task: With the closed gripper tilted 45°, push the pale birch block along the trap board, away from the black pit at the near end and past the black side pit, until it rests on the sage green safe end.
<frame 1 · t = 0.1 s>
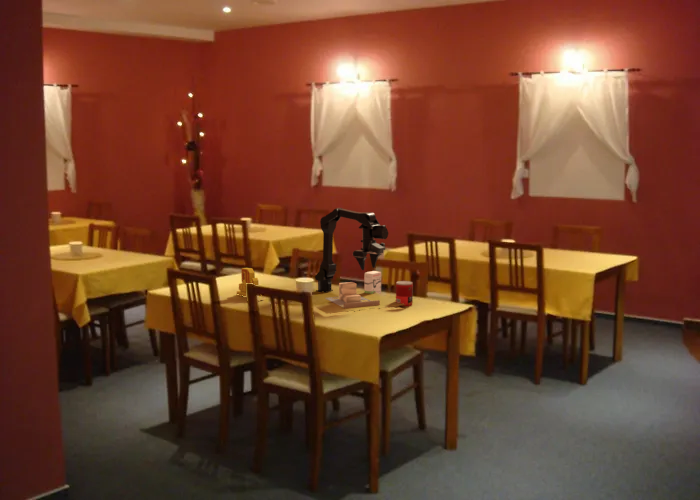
hand: (368, 268, 377), 15 cm above the table, tool pointing down, fingers open, 9 cm apart
canned food: (404, 305, 362), on the table
safe end: (358, 307, 356), on the table
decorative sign: (250, 298, 380), on the table
birch block: (349, 300, 365), point 1 cm above the table, touching trap board
trap board: (351, 304, 364), on the table
ink box: (372, 295, 386), on the table
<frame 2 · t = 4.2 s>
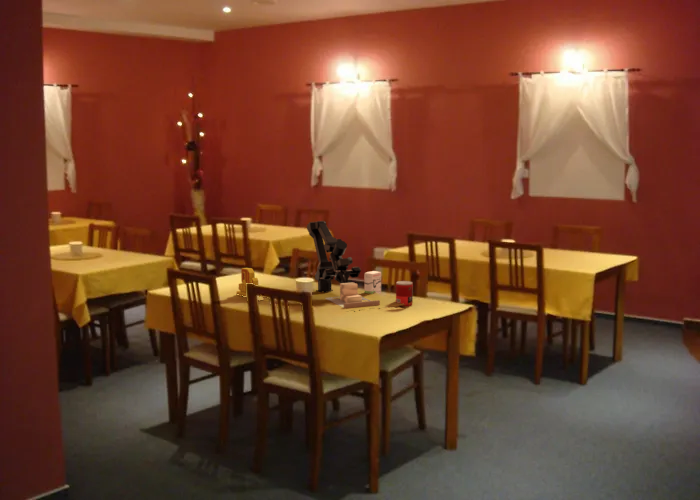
hand: (346, 287, 368), 7 cm above the table, tool tilted 45°, fingers closed, pressing on birch block
birch block: (350, 300, 364), point 2 cm above the table, touching gripper
everything else where it was.
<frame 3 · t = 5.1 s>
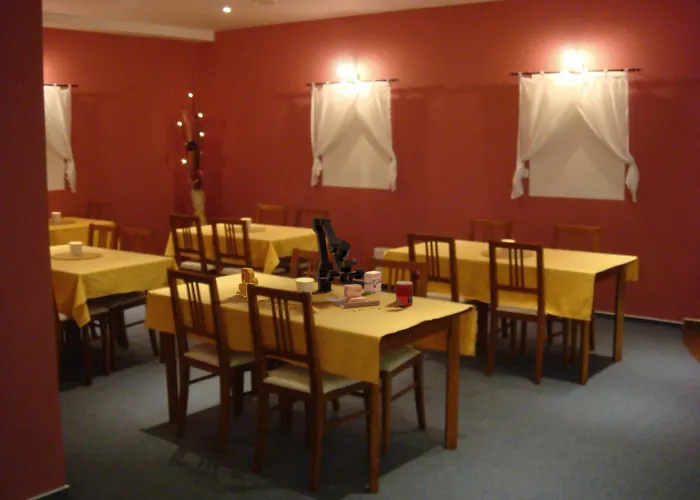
hand: (350, 288, 364), 7 cm above the table, tool tilted 45°, fingers closed, pressing on birch block
birch block: (354, 302, 360), point 1 cm above the table, touching gripper, safe end, trap board
everything else where it was.
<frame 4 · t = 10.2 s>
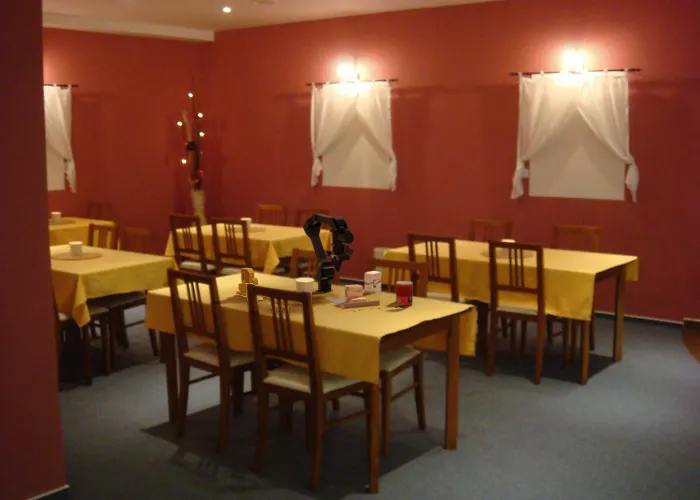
hand: (337, 271, 384), 12 cm above the table, tool pointing down, fingers closed
birch block: (355, 303, 359), point 1 cm above the table, touching safe end, trap board
everything else where it was.
at the end: birch block 3.3 cm from the safe end (horizontally); birch block tilted 0°; birch block point 1.5 cm above the table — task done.
